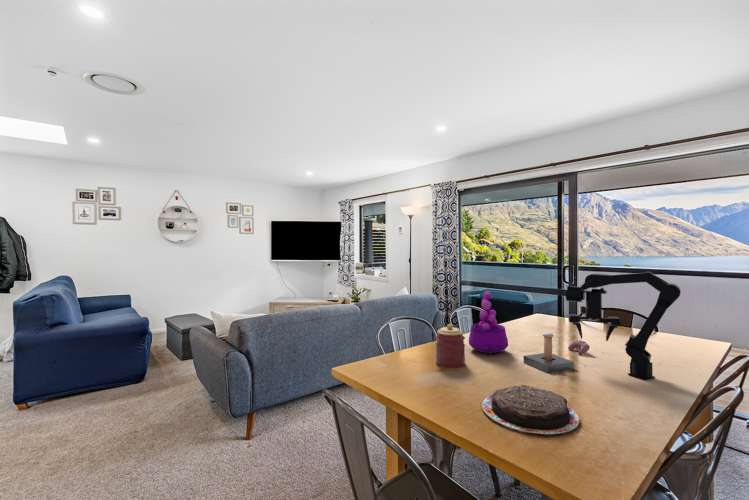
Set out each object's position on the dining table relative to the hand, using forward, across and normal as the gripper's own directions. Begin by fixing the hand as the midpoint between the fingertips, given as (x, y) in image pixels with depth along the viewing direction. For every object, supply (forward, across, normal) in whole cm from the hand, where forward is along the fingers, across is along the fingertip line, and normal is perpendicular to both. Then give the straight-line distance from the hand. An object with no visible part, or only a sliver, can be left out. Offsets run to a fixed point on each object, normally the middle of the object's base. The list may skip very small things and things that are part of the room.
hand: (594, 339), depth 150 cm
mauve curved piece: (+12, +4, -22) cm, 26 cm away
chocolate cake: (+13, +24, +56) cm, 62 cm away
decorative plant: (+12, +44, -7) cm, 47 cm away
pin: (+12, +18, +5) cm, 22 cm away
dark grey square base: (+12, +18, +5) cm, 22 cm away
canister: (+12, +58, +18) cm, 62 cm away
